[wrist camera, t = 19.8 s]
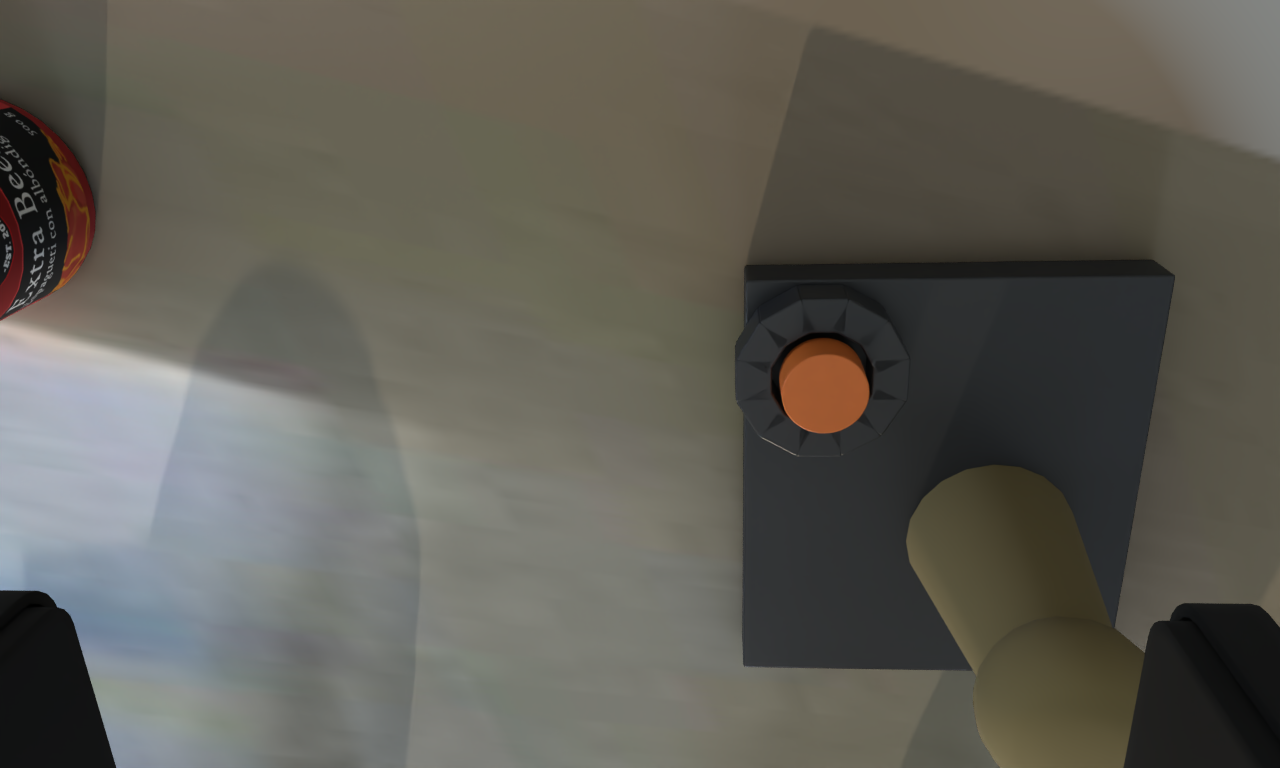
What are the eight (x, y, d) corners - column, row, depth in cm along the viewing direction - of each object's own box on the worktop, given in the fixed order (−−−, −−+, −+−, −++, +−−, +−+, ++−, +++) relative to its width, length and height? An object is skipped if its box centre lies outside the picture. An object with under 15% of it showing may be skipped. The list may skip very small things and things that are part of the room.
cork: (905, 609, 39) (970, 838, 29) (906, 468, 37) (977, 663, 27) (1069, 603, 39) (1193, 835, 29) (1081, 460, 36) (1221, 656, 26)
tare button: (779, 337, 34) (782, 354, 33) (865, 336, 34) (871, 353, 32) (778, 414, 35) (780, 434, 34) (861, 414, 35) (867, 433, 34)
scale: (734, 264, 36) (736, 295, 33) (1153, 259, 35) (1197, 289, 32) (733, 638, 43) (735, 694, 39) (1091, 643, 42) (1122, 701, 38)
